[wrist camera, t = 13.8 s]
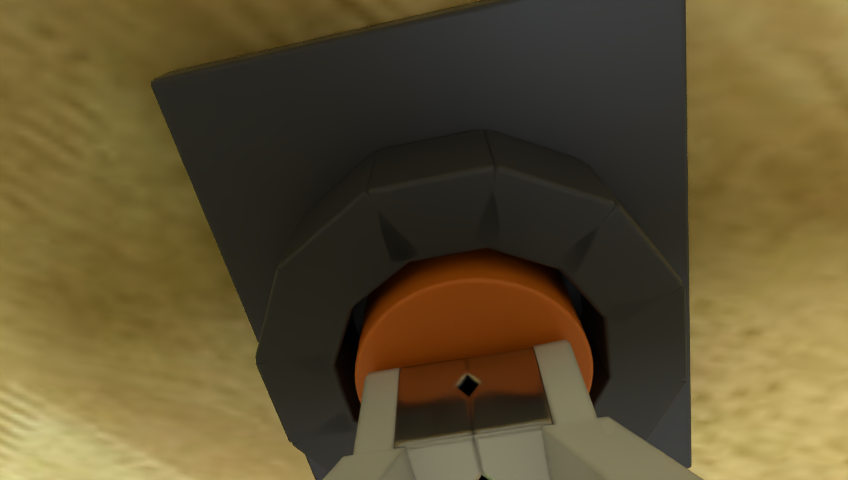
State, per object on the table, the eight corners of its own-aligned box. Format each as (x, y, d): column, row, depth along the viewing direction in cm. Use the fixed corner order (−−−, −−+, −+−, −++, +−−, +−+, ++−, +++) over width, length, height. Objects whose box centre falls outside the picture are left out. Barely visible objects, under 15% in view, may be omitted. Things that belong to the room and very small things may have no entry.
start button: (341, 247, 10) (324, 305, 8) (557, 206, 9) (583, 258, 8) (391, 408, 11) (386, 483, 10) (578, 378, 11) (603, 450, 9)
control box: (165, 72, 9) (84, 110, 7) (668, -43, 9) (753, -41, 6) (335, 494, 14) (317, 600, 12) (680, 444, 13) (733, 547, 11)
